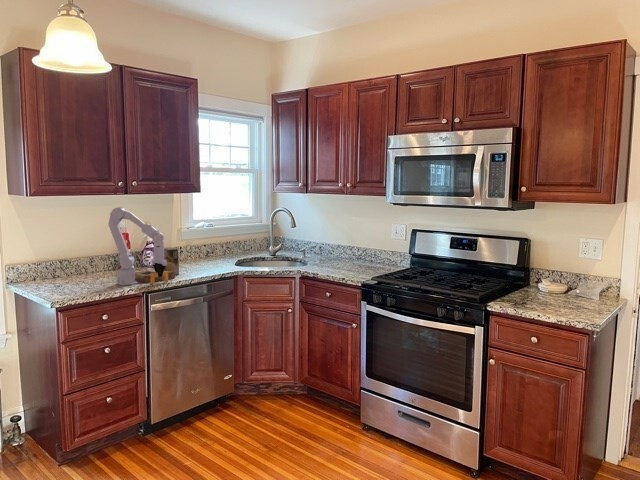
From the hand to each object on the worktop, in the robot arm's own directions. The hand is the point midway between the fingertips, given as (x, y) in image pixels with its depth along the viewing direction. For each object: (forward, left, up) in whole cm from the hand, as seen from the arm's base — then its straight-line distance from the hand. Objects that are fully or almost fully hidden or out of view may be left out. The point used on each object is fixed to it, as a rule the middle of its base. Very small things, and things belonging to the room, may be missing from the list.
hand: (159, 276), depth 274 cm
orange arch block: (0, 0, -4) cm, 4 cm away
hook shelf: (+3, +13, -4) cm, 14 cm away
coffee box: (+19, +20, -4) cm, 28 cm away
